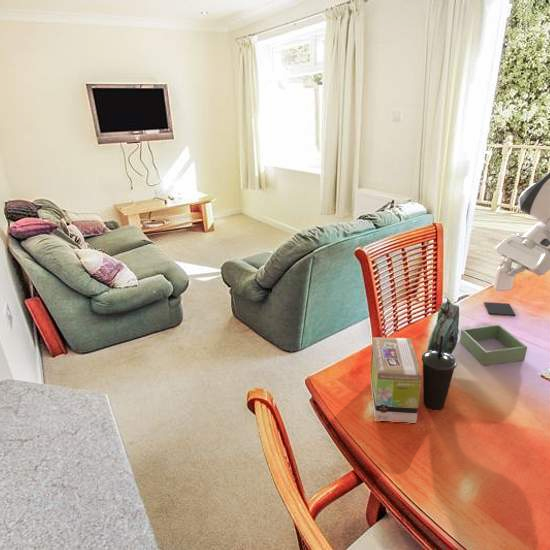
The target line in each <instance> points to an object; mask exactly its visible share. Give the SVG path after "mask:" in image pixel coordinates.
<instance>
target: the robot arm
mask: <svg viewBox="0 0 550 550" xmlns="http://www.w3.org/2000/svg"><path fill="white" fill-rule="evenodd" d="M518 207H519V210H520V211H521V212H523V213H525V214H527V215H529V216H531V217H533V218H534V219H536V220H537V221H539V222H538V223H536V224H535V225H533V226H532V227H530V229H528V231H527V232H525V233H524V234H521V233H519V232H518V233H513V234H511V235H509V236H508V237H506V238H505V239H503V240H502V241H501V242H500V243H498V244H497V245H496V247H495V249H494V250H495V252H496V253H497V254H498V255H499V256H501V257H502V258H501V261H500V264H499V265H497V269H498V268H499V267H502V266H503V262H504V260H505V259H507V257H508V256H509V257H510V260H512V263H514V264H516V265H517V266H516V267H514V268H515V269H513V270H512V269H510V270H509V271H508V272H507V274H508V275H509V276H511V277H513V276H514V275H515V276H516V275H517V274H519V273H522V272H524V271H526V270H527V271H529V272H530V273H533V274H535V275H537V276H538V277H540V276H543V275H545V274H547V272H549V271H550V171H548V172H547V173H546V174H545V175H543V176H542V177H541V178H540V179H539V180H537V181H536V182H534V183H533V184H531V185H529V186H528V187H527V188H526V189H525V190H524V191H522V192H521V194H520V196H519V197H518Z"/></svg>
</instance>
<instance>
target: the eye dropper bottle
mask: <svg viewBox="0 0 550 550" xmlns="http://www.w3.org/2000/svg"><path fill="white" fill-rule="evenodd" d="M512 265H513V262H512V260H510V257H509V256H508V257H507V259H505V260H504V262H503V266H502V267H499V268H497V269H496V272H495V276H494V281H493V282H494V283H493V287H492V288H493V289H494V290H495V291H497V292H509V291H511V290H512V289H513V287H514V283H515V277H516V274H515V275H514V276H513V277H511V276H509V275H508V274H507V272H508V271H509V270H510V269H512V270H513V269H515V268H516V267H514V266H512Z"/></svg>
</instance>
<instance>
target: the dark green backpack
mask: <svg viewBox="0 0 550 550" xmlns="http://www.w3.org/2000/svg"><path fill="white" fill-rule="evenodd" d="M459 323H460V305H457V304H454V303H452V302H451V301H450V300H449V298H447V297H446V302H442V304H441V305H440V307H439V310H438V312H437V320H436V324H435V325H434V327H433V330H432V331H431V334H430V337H429V340H428V345H427V349H426V352H427V351H430V350H439V344H440V336H443V345H442V351H444V352H447V353H449V354H451V355H452V354H453V352H454V351H455V349H456V347H457V344H458V341H459V334H460V333H459V332H460V331H459Z"/></svg>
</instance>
